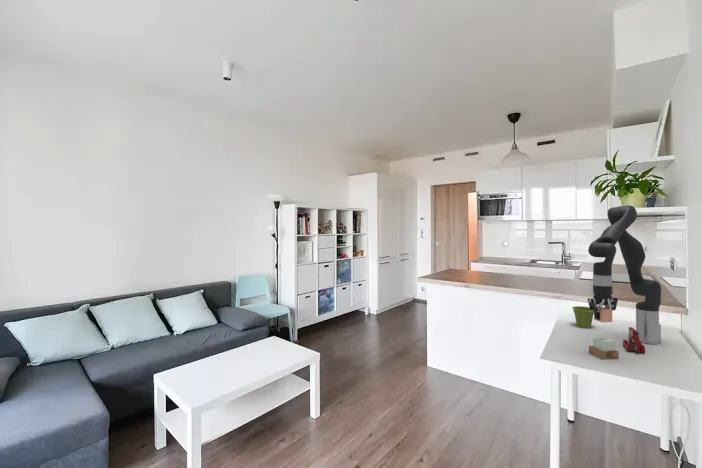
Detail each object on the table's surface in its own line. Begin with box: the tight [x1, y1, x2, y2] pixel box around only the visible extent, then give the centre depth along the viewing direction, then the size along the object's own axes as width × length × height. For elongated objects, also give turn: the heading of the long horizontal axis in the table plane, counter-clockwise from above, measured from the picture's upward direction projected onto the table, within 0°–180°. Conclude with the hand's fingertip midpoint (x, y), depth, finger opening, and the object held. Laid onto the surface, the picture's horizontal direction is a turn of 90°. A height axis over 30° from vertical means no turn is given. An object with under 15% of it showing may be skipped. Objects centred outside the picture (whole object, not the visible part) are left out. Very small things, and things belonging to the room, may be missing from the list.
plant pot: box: [571, 305, 594, 329], centre depth 204 cm, size 12×12×11 cm
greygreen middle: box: [592, 336, 616, 351], centre depth 158 cm, size 6×6×4 cm
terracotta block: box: [593, 306, 613, 323], centre depth 159 cm, size 5×5×6 cm
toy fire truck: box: [622, 326, 646, 354], centre depth 165 cm, size 7×12×10 cm, turn 152°
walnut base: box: [588, 345, 619, 361], centre depth 159 cm, size 8×8×4 cm
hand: (602, 319), depth 159 cm, fingers closed on terracotta block, 5 cm apart
